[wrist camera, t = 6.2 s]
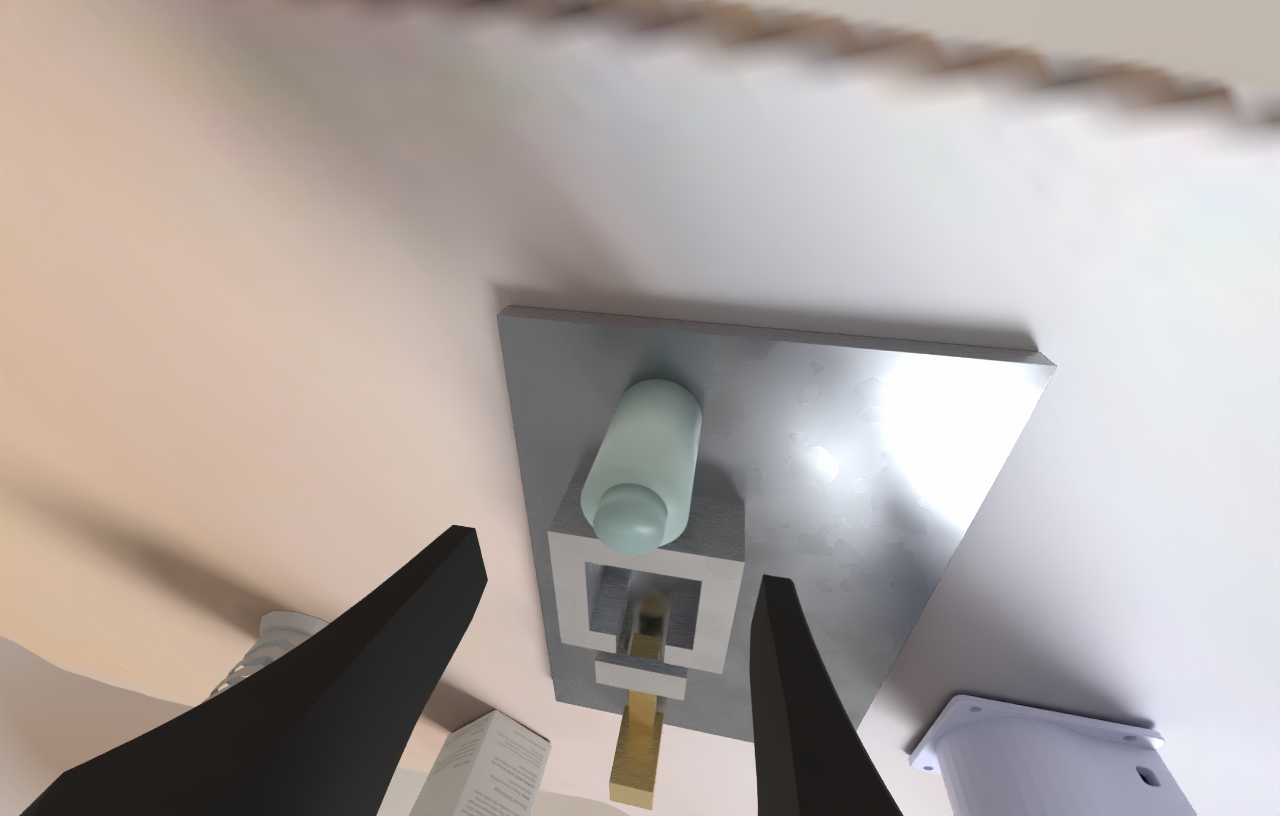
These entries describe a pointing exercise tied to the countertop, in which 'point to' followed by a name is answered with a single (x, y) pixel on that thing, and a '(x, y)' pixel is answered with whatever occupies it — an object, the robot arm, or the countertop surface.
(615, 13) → the countertop surface
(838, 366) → the dock
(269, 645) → the french press
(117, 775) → the robot arm
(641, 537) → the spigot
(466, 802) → the skincare box
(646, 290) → the countertop surface
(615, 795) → the pin
